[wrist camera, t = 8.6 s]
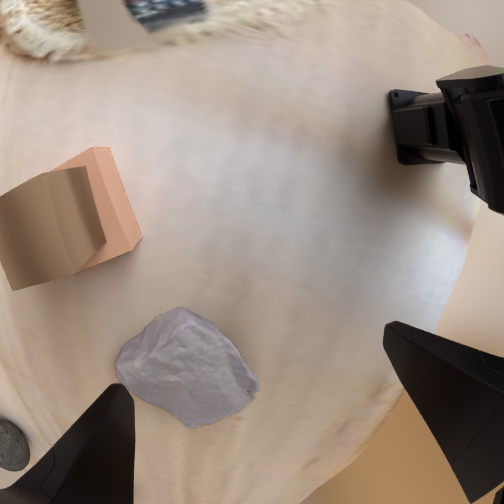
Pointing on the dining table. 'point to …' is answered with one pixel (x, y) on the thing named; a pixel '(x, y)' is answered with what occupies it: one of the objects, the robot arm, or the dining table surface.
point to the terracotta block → (107, 204)
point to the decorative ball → (13, 447)
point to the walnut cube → (48, 227)
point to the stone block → (187, 369)
